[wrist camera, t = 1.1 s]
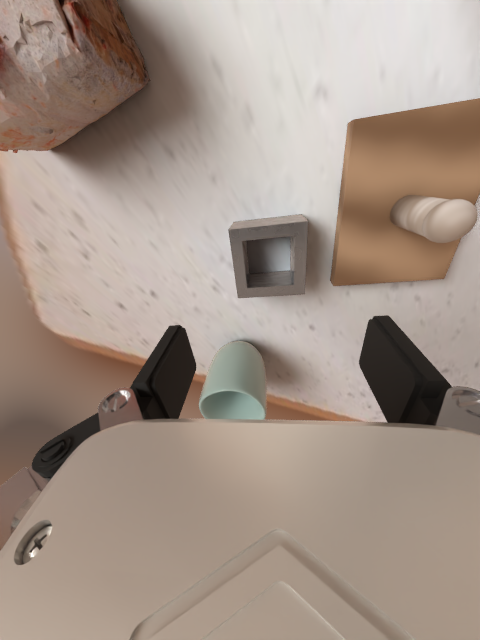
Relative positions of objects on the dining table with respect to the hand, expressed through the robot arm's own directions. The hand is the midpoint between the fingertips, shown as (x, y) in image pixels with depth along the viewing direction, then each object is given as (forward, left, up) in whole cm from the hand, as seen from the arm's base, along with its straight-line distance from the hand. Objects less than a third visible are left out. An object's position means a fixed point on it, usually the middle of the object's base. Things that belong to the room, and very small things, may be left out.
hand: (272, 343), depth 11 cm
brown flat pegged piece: (-3, +13, -16) cm, 20 cm away
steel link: (0, 0, -16) cm, 16 cm away
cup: (+15, -5, -16) cm, 22 cm away
